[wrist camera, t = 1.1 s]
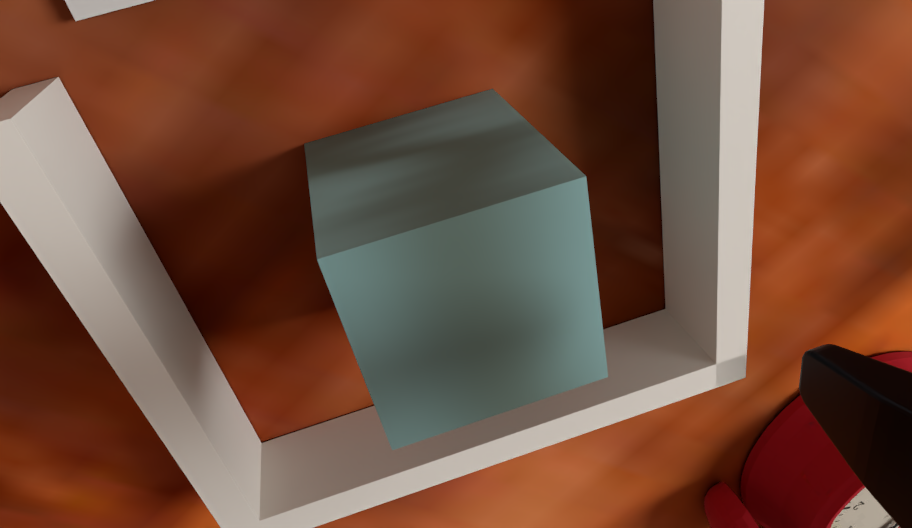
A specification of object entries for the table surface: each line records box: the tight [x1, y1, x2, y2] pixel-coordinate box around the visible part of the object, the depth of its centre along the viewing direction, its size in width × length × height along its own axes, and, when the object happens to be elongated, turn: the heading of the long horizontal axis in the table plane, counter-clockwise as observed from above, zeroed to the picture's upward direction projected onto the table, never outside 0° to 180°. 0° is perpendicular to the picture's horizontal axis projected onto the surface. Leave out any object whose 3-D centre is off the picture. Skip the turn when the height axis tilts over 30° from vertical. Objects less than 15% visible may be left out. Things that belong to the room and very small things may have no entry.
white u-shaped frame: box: [0, 0, 764, 528], centre depth 17 cm, size 16×13×3 cm
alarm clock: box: [704, 352, 912, 528], centre depth 27 cm, size 10×6×15 cm
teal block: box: [304, 89, 608, 450], centre depth 15 cm, size 5×5×6 cm
